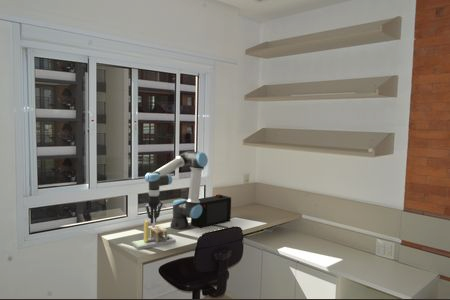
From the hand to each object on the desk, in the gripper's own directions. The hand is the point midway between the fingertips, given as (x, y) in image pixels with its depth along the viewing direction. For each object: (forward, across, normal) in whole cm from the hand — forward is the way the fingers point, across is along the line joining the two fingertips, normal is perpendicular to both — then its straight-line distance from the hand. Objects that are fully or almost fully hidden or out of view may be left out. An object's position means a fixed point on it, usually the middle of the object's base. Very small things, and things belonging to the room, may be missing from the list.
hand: (153, 227), depth 246 cm
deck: (+12, -1, 0) cm, 12 cm away
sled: (+10, -1, 0) cm, 10 cm away
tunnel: (+10, -4, 0) cm, 11 cm away
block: (+9, -4, 0) cm, 9 cm away
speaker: (+12, -64, -23) cm, 70 cm away
